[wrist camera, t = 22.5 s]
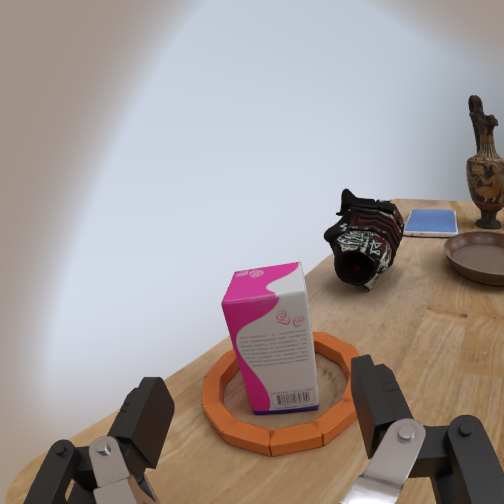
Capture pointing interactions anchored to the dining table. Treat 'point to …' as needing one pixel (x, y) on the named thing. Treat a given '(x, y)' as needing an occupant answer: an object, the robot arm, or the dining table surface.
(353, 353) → the ring
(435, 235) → the tablet
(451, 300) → the dining table surface
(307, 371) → the supplement box
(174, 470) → the dining table surface
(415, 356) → the dining table surface
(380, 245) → the black patterned hollow part
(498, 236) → the plant saucer
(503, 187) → the vase
